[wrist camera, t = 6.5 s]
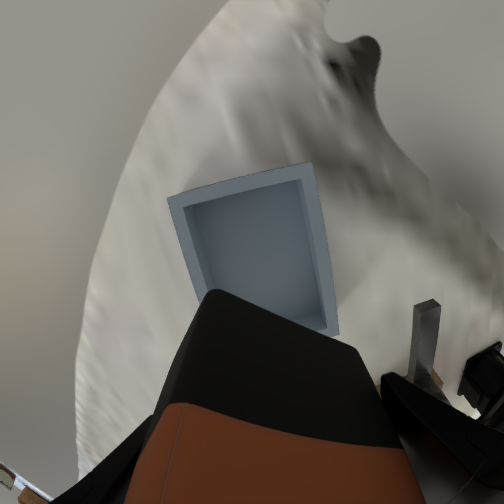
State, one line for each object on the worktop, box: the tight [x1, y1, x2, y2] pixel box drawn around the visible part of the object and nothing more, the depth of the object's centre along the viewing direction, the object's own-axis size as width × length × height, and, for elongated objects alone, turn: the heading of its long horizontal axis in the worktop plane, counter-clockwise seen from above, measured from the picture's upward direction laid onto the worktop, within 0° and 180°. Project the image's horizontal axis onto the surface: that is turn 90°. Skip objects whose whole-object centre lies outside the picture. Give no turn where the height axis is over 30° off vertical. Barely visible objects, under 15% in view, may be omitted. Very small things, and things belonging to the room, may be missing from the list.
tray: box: [167, 162, 339, 337], centre depth 18 cm, size 9×12×3 cm
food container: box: [0, 463, 16, 491], centre depth 46 cm, size 12×6×10 cm, turn 61°
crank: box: [407, 299, 452, 406], centre depth 17 cm, size 17×4×6 cm, turn 14°
